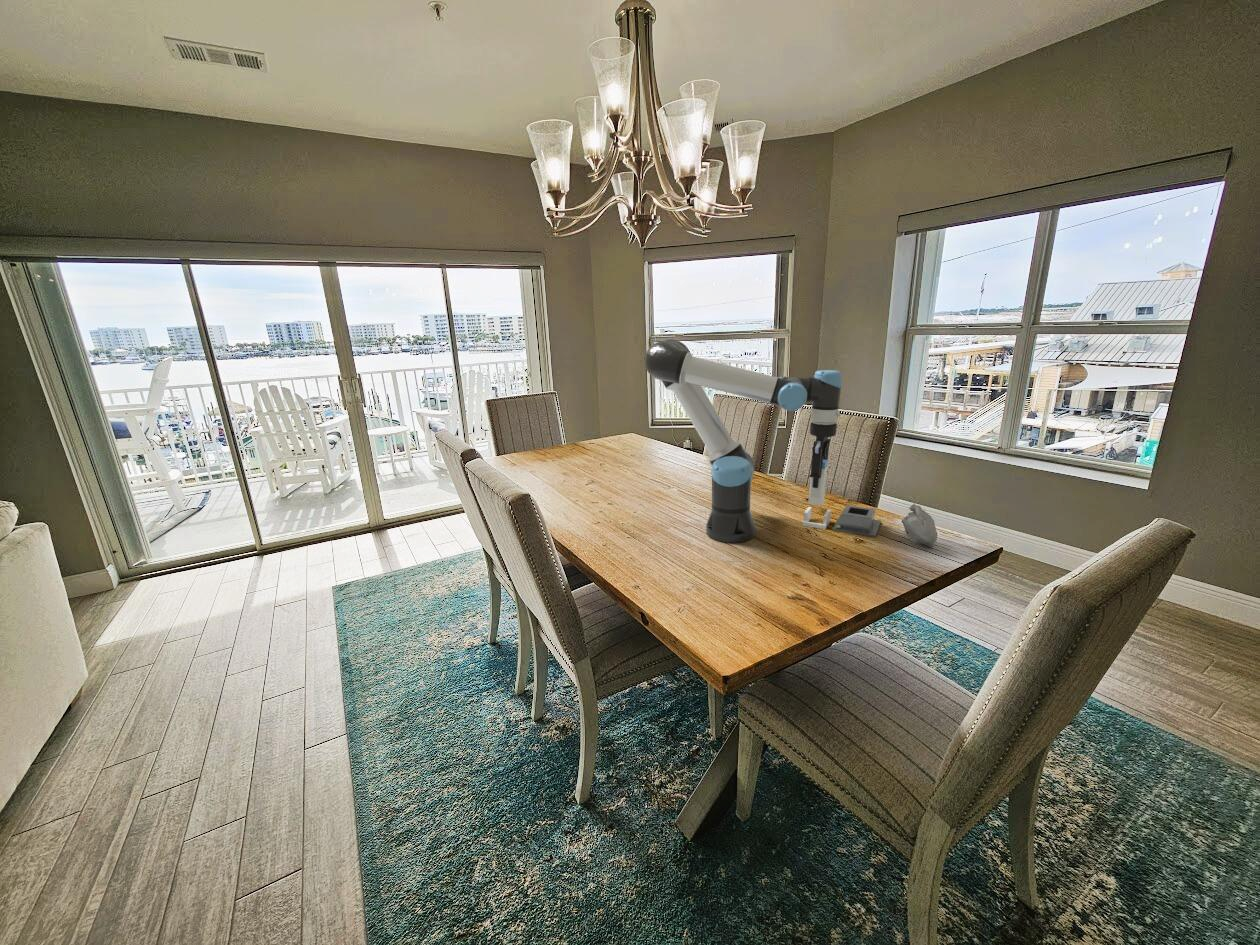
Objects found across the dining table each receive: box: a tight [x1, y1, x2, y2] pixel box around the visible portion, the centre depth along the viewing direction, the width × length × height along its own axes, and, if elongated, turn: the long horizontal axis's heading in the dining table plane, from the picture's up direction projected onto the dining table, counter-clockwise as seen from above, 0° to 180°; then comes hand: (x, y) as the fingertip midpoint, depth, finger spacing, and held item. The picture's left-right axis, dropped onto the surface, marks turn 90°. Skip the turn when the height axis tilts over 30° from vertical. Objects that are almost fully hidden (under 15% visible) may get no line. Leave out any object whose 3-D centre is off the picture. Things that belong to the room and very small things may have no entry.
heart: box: [901, 504, 938, 548], centre depth 135 cm, size 10×10×12 cm
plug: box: [807, 459, 829, 507], centre depth 151 cm, size 4×4×14 cm
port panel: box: [832, 504, 882, 538], centre depth 150 cm, size 12×13×5 cm
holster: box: [801, 506, 832, 530], centre depth 154 cm, size 7×7×4 cm
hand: (816, 494), depth 152 cm, fingers closed on plug, 4 cm apart
